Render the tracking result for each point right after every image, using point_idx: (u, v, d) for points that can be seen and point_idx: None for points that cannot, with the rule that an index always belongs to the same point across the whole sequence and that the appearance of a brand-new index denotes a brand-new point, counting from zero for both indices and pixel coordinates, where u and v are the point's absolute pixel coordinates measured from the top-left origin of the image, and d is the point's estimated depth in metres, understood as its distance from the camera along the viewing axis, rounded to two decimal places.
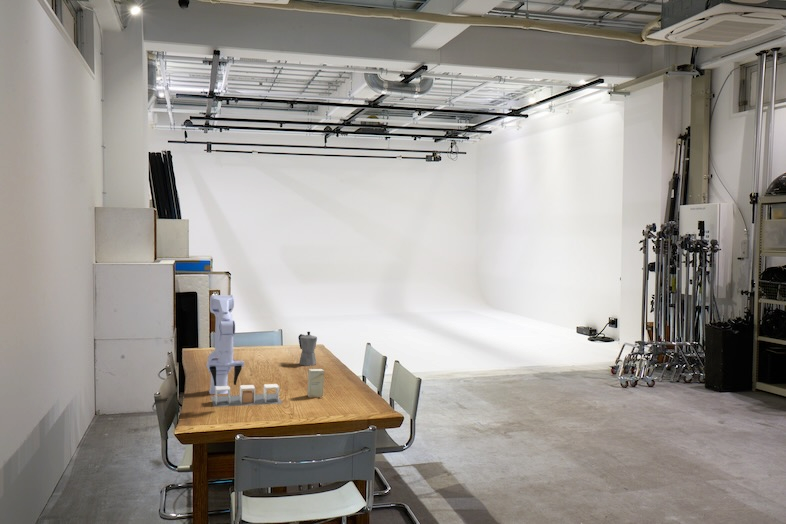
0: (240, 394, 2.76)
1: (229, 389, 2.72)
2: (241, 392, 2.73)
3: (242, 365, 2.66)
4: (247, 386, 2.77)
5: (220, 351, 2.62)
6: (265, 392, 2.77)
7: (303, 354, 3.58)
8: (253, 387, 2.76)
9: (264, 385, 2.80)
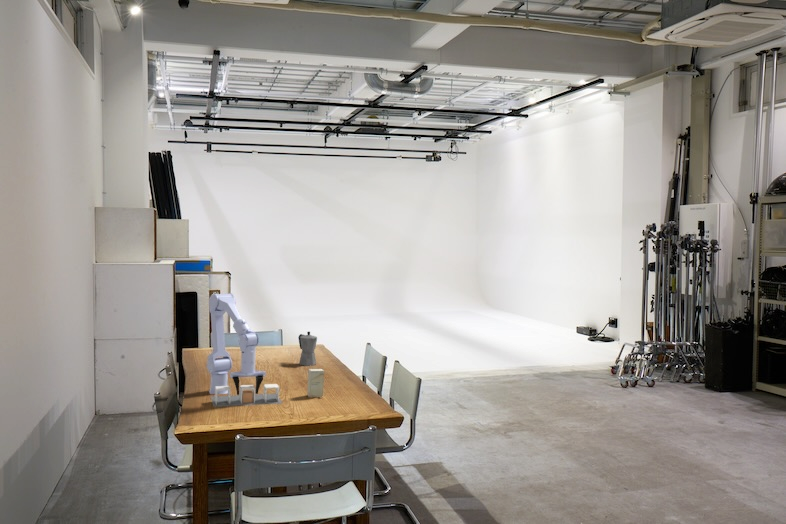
0: (240, 394, 2.76)
1: (229, 389, 2.72)
2: (241, 392, 2.73)
3: (263, 375, 2.78)
4: (247, 386, 2.77)
5: (245, 362, 2.74)
6: (265, 392, 2.77)
7: (303, 354, 3.58)
8: (253, 387, 2.76)
9: (264, 385, 2.80)
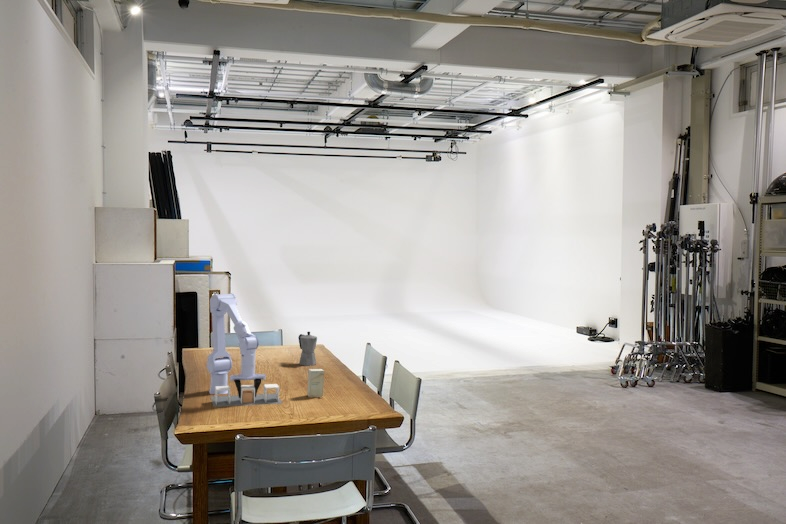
0: None
1: (229, 389, 2.72)
2: (241, 392, 2.73)
3: (263, 378, 2.78)
4: (247, 386, 2.77)
5: (245, 365, 2.74)
6: (265, 392, 2.77)
7: (303, 354, 3.58)
8: (253, 387, 2.76)
9: (264, 385, 2.80)
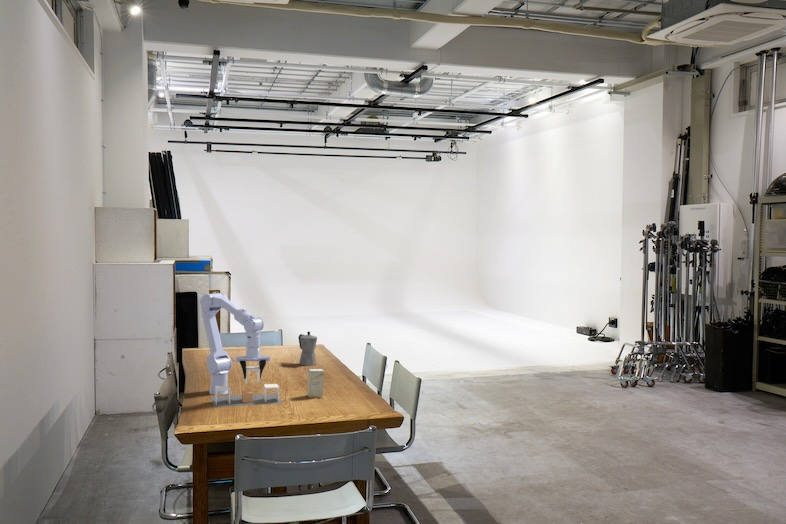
0: None
1: (229, 389, 2.72)
2: (246, 373, 2.78)
3: (268, 360, 2.83)
4: (252, 367, 2.82)
5: (252, 347, 2.78)
6: (265, 392, 2.77)
7: (303, 354, 3.58)
8: (258, 368, 2.81)
9: (264, 385, 2.80)
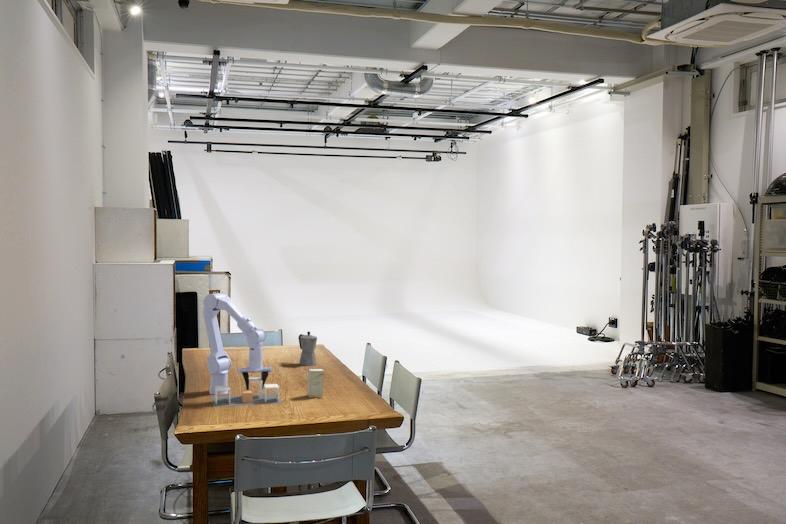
0: None
1: (229, 389, 2.72)
2: (249, 384, 2.81)
3: (270, 371, 2.86)
4: (255, 378, 2.85)
5: (256, 358, 2.82)
6: (265, 392, 2.77)
7: (303, 354, 3.58)
8: (260, 379, 2.84)
9: (264, 385, 2.80)
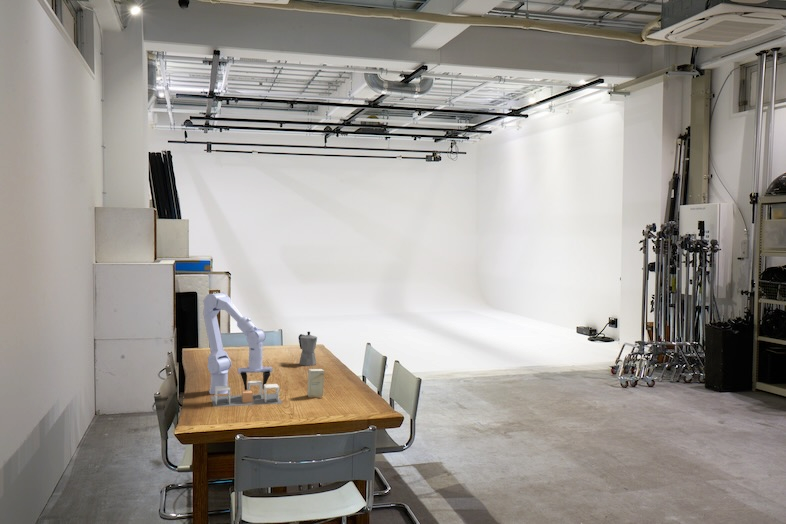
0: (248, 390, 2.84)
1: (229, 389, 2.72)
2: (249, 388, 2.81)
3: (270, 371, 2.86)
4: (255, 382, 2.85)
5: (256, 358, 2.82)
6: (265, 392, 2.77)
7: (303, 354, 3.58)
8: (260, 383, 2.84)
9: (264, 385, 2.80)
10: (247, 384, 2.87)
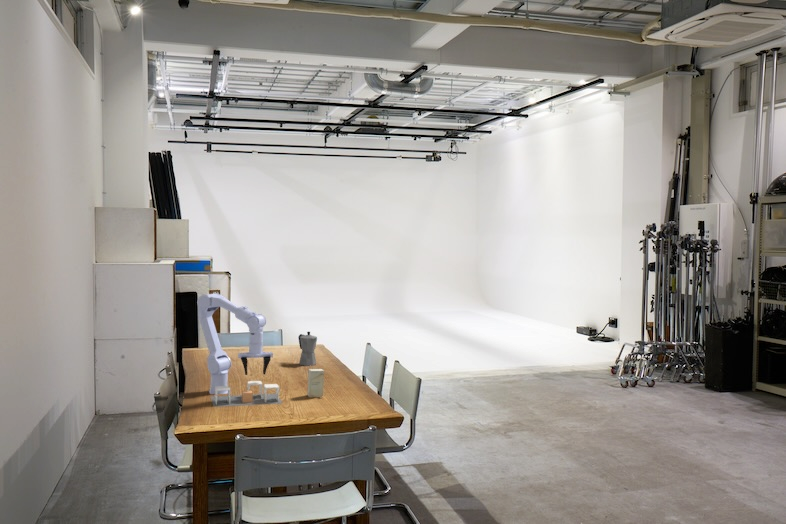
0: (248, 390, 2.84)
1: (229, 389, 2.72)
2: (249, 388, 2.81)
3: (271, 356, 2.86)
4: (255, 382, 2.85)
5: (256, 343, 2.81)
6: (265, 392, 2.77)
7: (303, 354, 3.58)
8: (260, 383, 2.84)
9: (264, 385, 2.80)
10: (247, 384, 2.87)
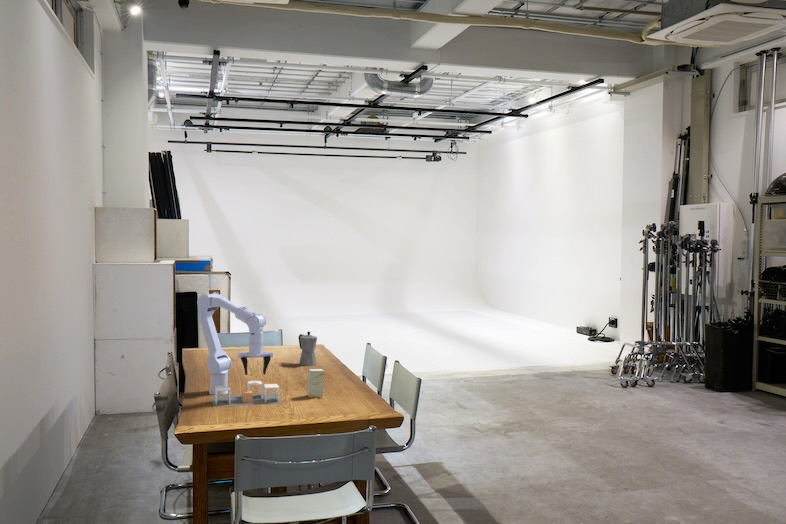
0: (248, 390, 2.84)
1: (229, 389, 2.72)
2: (249, 388, 2.81)
3: (271, 356, 2.86)
4: (255, 382, 2.85)
5: (256, 343, 2.81)
6: (265, 392, 2.77)
7: (303, 354, 3.58)
8: (260, 383, 2.84)
9: (264, 385, 2.80)
10: (247, 384, 2.87)
